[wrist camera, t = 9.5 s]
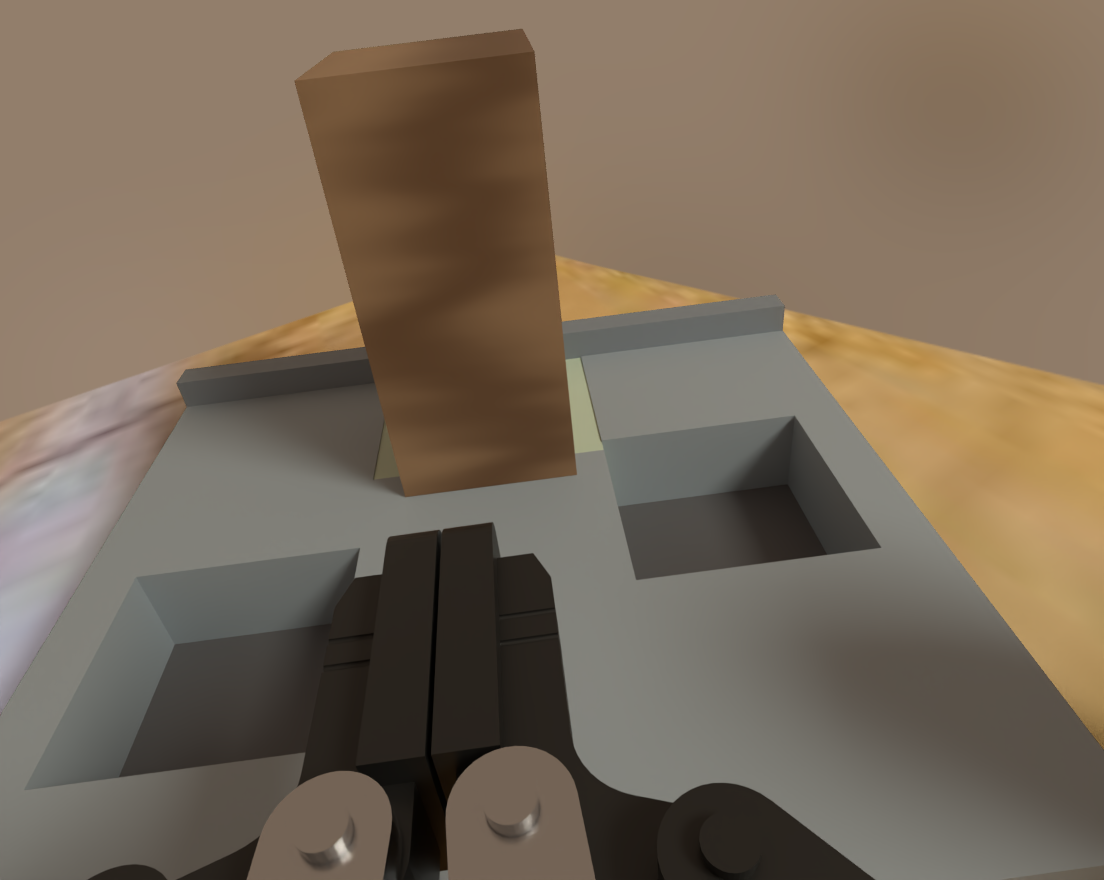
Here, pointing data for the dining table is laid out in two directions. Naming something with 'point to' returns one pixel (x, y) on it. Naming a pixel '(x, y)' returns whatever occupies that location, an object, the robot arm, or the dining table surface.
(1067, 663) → the dining table surface
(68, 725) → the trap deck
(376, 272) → the walnut block
